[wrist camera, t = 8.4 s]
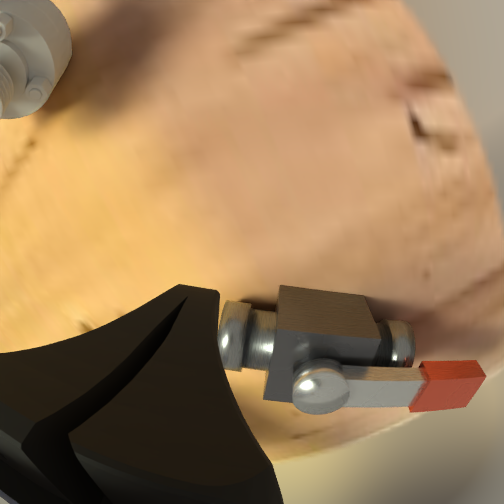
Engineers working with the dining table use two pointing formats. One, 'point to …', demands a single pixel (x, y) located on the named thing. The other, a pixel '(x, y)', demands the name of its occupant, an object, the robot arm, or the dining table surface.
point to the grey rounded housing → (30, 54)
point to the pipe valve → (309, 336)
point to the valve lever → (385, 386)
